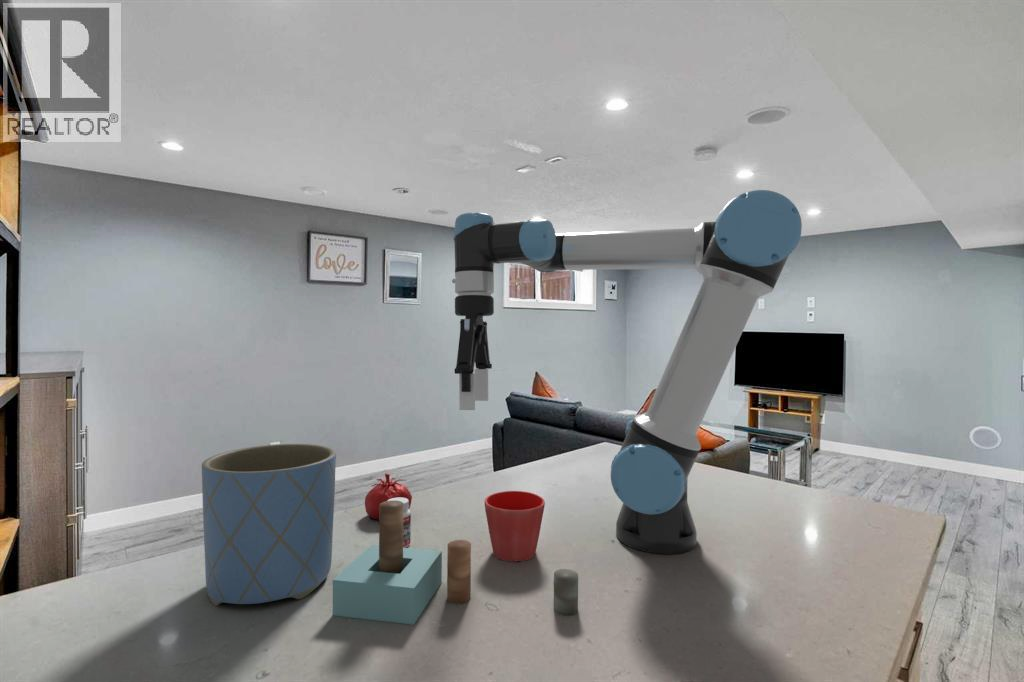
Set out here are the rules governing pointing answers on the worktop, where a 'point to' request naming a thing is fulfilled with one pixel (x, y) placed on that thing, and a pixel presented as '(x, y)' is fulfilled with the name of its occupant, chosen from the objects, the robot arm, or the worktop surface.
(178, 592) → the worktop surface
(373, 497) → the pomegranate
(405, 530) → the pill bottle
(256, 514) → the planter
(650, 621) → the worktop surface
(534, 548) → the flower pot
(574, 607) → the pin short
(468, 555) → the pin medium
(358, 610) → the collar
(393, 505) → the pin long
